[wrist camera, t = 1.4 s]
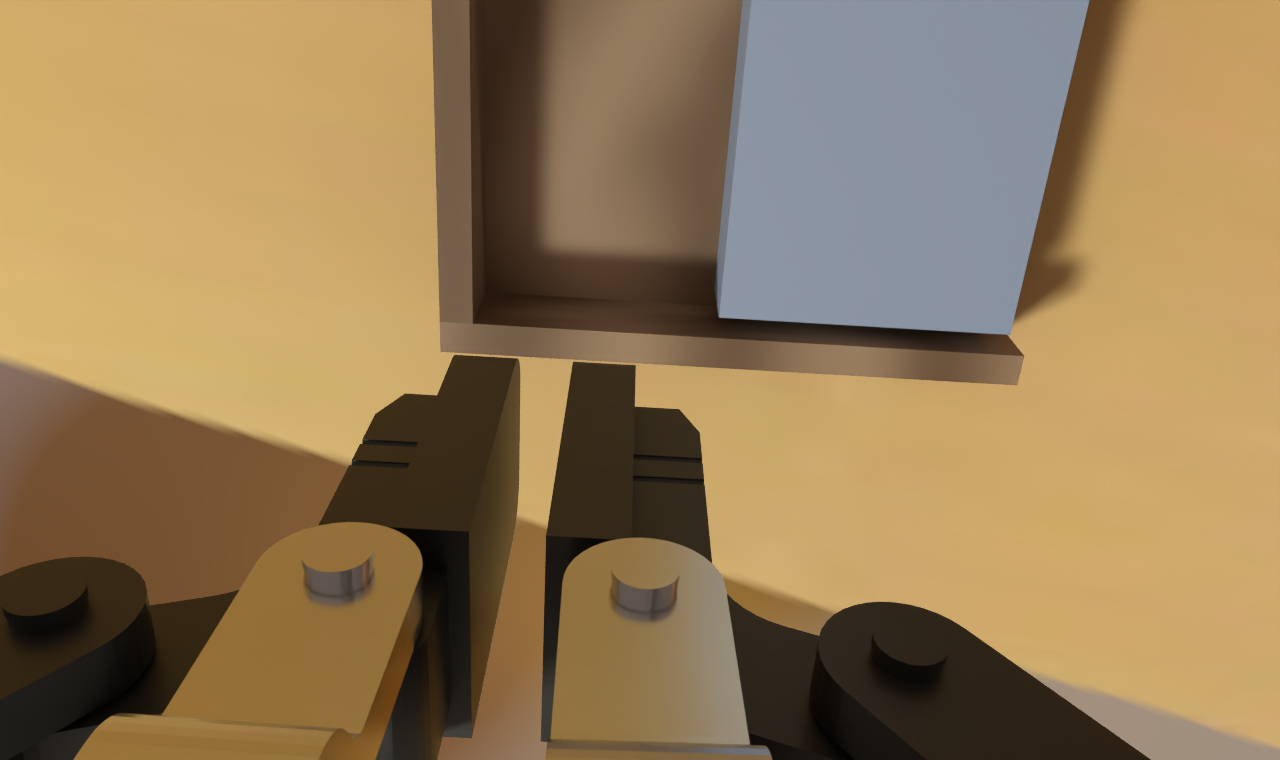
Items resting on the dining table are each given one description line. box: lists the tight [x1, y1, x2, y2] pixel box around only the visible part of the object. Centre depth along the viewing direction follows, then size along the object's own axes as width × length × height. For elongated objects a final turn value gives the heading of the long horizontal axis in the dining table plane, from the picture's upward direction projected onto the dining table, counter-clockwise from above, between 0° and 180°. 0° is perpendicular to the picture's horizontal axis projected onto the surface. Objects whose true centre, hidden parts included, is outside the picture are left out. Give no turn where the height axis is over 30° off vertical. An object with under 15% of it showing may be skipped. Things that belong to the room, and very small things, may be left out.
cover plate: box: [714, 0, 1090, 335], centre depth 30 cm, size 9×12×2 cm
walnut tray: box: [432, 0, 1024, 385], centre depth 30 cm, size 18×15×4 cm
